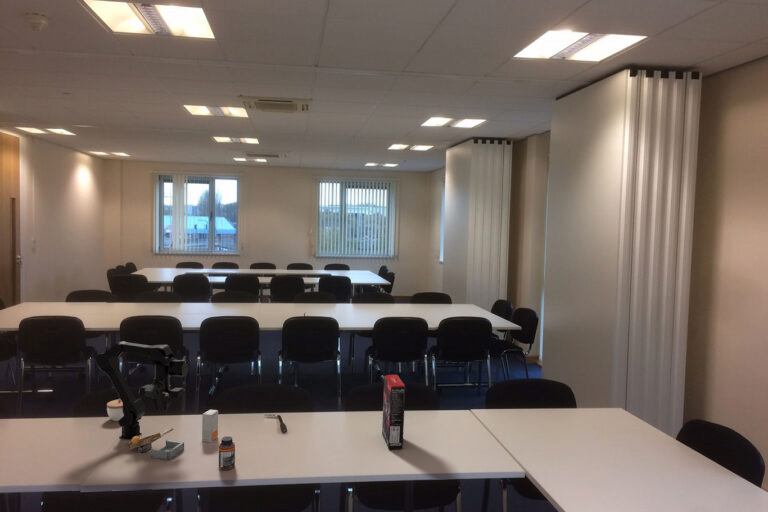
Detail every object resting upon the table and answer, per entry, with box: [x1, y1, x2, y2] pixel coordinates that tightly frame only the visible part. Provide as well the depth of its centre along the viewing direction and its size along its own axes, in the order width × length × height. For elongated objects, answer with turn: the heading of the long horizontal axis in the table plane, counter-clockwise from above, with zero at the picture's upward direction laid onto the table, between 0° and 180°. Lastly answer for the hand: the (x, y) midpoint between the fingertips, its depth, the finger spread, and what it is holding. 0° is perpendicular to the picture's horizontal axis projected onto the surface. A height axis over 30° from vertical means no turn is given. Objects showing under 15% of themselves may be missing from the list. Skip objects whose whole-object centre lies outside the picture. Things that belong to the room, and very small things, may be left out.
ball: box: [131, 436, 141, 443], centre depth 209 cm, size 3×3×3 cm
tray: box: [150, 439, 185, 461], centre depth 205 cm, size 8×10×3 cm
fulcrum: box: [137, 442, 153, 455], centre depth 208 cm, size 2×6×2 cm, turn 167°
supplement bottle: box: [218, 435, 236, 471], centre depth 195 cm, size 6×6×11 cm
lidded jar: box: [106, 398, 124, 422], centre depth 241 cm, size 11×11×9 cm
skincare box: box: [201, 409, 219, 443], centre depth 220 cm, size 6×4×12 cm
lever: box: [127, 428, 174, 450], centre depth 212 cm, size 12×13×2 cm
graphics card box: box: [381, 374, 406, 450], centre depth 222 cm, size 17×7×27 cm, turn 10°
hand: (162, 411), depth 219 cm, fingers open, 3 cm apart
